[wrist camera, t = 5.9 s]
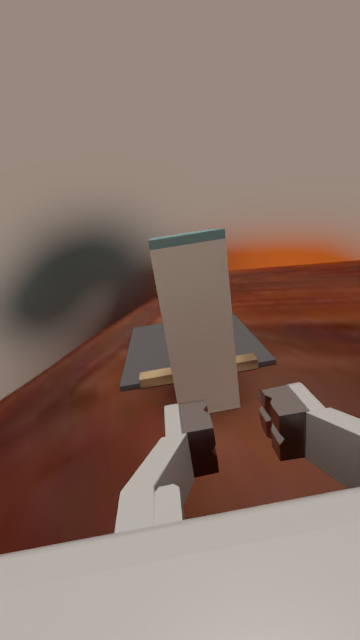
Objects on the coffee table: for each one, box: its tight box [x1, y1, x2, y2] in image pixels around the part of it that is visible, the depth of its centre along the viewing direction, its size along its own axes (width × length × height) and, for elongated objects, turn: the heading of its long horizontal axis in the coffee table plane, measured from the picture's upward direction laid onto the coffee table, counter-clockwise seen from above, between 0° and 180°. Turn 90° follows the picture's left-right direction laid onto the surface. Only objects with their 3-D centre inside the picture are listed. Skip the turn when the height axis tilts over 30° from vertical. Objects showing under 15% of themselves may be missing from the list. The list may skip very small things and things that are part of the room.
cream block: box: [148, 229, 240, 413], centre depth 22 cm, size 5×5×14 cm
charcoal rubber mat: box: [120, 313, 276, 391], centre depth 35 cm, size 16×17×1 cm
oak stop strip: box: [139, 353, 258, 389], centre depth 27 cm, size 12×2×1 cm, turn 95°
